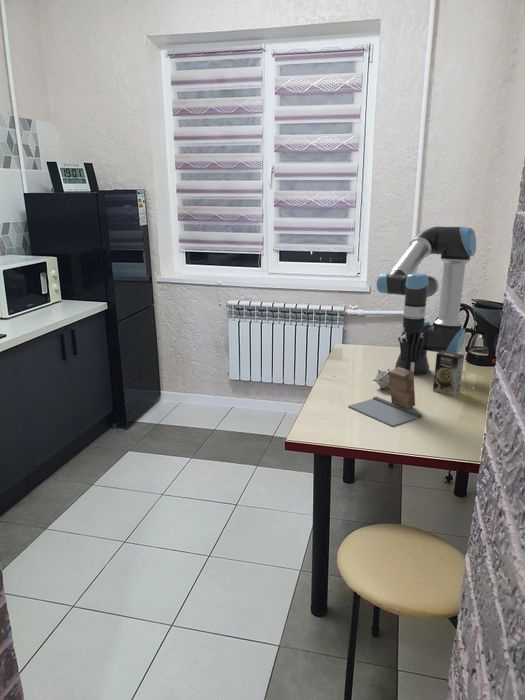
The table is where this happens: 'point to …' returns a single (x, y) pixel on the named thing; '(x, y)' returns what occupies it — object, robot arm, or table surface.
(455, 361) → the coffee box
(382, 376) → the game die
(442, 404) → the table surface
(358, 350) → the table surface
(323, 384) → the table surface
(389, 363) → the table surface
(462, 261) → the robot arm
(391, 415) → the grey flat panel
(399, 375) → the walnut block
